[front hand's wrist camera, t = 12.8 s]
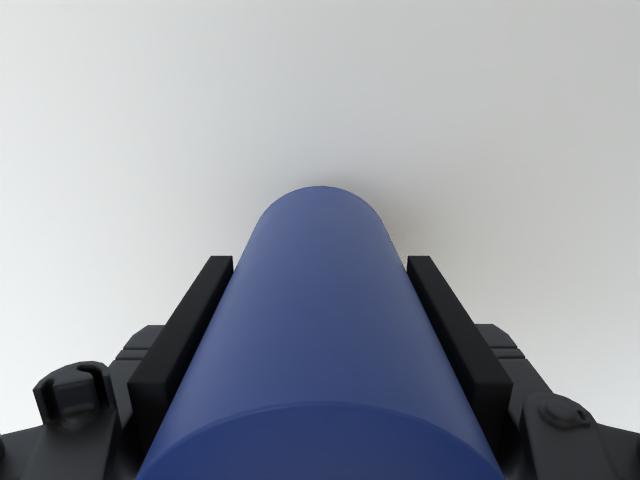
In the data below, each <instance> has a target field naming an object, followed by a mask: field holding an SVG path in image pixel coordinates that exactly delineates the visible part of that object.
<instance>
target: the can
mask: <svg viewBox="0 0 640 480" xmlns="http://www.w3.org/2000/svg"><path fill="white" fill-rule="evenodd" d="M135 480H506V479H505V477H504V475H503V473H502V471H501V469H500V467H499V465H498V463H497V461H496V459H495V456H494V454H493V452H492V450H491V448H490V446H489V444H488V442H487V440H486V438H485V436H484V433H483V431H482V429H481V427H480V425H479V423H478V421H477V419H476V417H475V415H474V413H473V410H472V408H471V406H470V404H469V402H468V400H467V398H466V396H465V394H464V392H463V390H462V387H461V385H460V383H459V381H458V379H457V377H456V375H455V373H454V371H453V369H452V367H451V364H450V362H449V360H448V358H447V356H446V354H445V352H444V350H443V348H442V346H441V344H440V341H439V339H438V337H437V335H436V333H435V331H434V329H433V327H432V325H431V323H430V321H429V318H428V316H427V314H426V312H425V310H424V308H423V306H422V304H421V302H420V300H419V298H418V295H417V293H416V291H415V289H414V287H413V285H412V283H411V281H410V279H409V277H408V275H407V272H406V270H405V268H404V266H403V264H402V262H401V260H400V258H399V256H398V254H397V252H396V249H395V247H394V245H393V243H392V241H391V239H390V237H389V235H388V233H387V231H386V229H385V226H384V224H383V223H382V221H381V219H380V217H379V216H378V215H377V213H376V212H375V211H374V209H373V208H372V207H371V206H370V205H368V204H367V203H366V202H365V201H364V200H362V199H361V198H359V197H358V196H356V195H354V194H352V193H350V192H347V191H345V190H342V189H338V188H334V187H326V186H313V187H306V188H302V189H298V190H295V191H293V192H290V193H288V194H286V195H284V196H283V197H281V198H279V199H278V200H276V201H275V202H274V203H273V204H271V205H270V207H269V208H268V209H267V210H266V211H265V212H264V213H263V215H262V216H261V217H260V219H259V221H258V223H257V225H256V227H255V229H254V231H253V233H252V235H251V237H250V239H249V241H248V243H247V246H246V248H245V250H244V252H243V254H242V256H241V258H240V260H239V262H238V264H237V266H236V269H235V271H234V273H233V275H232V277H231V279H230V281H229V283H228V285H227V287H226V290H225V292H224V294H223V296H222V298H221V300H220V302H219V304H218V306H217V308H216V311H215V313H214V315H213V317H212V319H211V321H210V323H209V325H208V327H207V329H206V332H205V334H204V336H203V338H202V340H201V342H200V344H199V346H198V348H197V350H196V352H195V355H194V357H193V359H192V361H191V363H190V365H189V367H188V369H187V371H186V373H185V376H184V378H183V380H182V382H181V384H180V386H179V388H178V390H177V392H176V394H175V397H174V399H173V401H172V403H171V405H170V407H169V409H168V411H167V413H166V415H165V418H164V420H163V422H162V424H161V426H160V428H159V430H158V432H157V434H156V436H155V438H154V441H153V443H152V445H151V447H150V449H149V451H148V453H147V455H146V457H145V459H144V462H143V464H142V466H141V468H140V470H139V472H138V474H137V476H136V478H135Z"/></svg>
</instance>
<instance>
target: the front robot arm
mask: <svg viewBox="0 0 640 480" xmlns="http://www.w3.org/2000/svg"><path fill="white" fill-rule="evenodd" d="M233 273H234V270H233V258H232V256H211V257H210V258H209V260H208V261H207V263H206V264H205V266H204V267H203V269H202V270H201V272H200V273H199V275H198V276H197V278H196V279H195V281H194V282H193V284H192V285H191V287H190V288H189V290H188V291H187V293H186V294H185V296H184V297H183V299H182V300H181V302H180V303H179V305H178V306H177V308H176V309H175V311H174V312H173V314H172V315H171V317H170V319H169V320H168V322H167V323H166V325H147V326H146V327H144V328H143V329H141V330H140V331H139V332H137V333H136V334H134V335H133V336H132V337H131V338H130V340H129V341H128V342H127V343H126V345H125V346H124V347H123V350H121V351H120V353H119V354H118V355H117V357H116V359H115V360H113V362H112V363H111V364H110V366H109V367H107V366H106V365H104V364H103V363H100V362H95V361H85V362H77V363H74V364H70V365H66V366H64V367H62V368H60V369H57V370H55V371H53V372H51V373H50V374H48V375H47V376H46V377H44V378H43V379H42V380H40V381H39V382H38V384H37V385H36V386H35V387H34V389H33V393H34V396H35V399H36V402H37V406H38V409H39V412H40V415H41V418H42V421H43V425H41V426H37V427H34V428H29V429H25V430H21V431H17V432H12V433H8V434H4V435H1V434H0V480H135V478H136V476H137V474H138V472H139V470H140V468H141V466H142V464H143V462H144V459H145V457H146V455H147V453H148V451H149V449H150V447H151V445H152V443H153V441H154V438H155V436H156V434H157V432H158V430H159V428H160V426H161V424H162V422H163V420H164V418H165V415H166V413H167V411H168V409H169V407H170V405H171V403H172V401H173V399H174V397H175V394H176V392H177V390H178V388H179V386H180V384H181V382H182V380H183V378H184V376H185V373H186V371H187V369H188V367H189V365H190V363H191V361H192V359H193V357H194V355H195V352H196V350H197V348H198V346H199V344H200V342H201V340H202V338H203V336H204V334H205V332H206V329H207V327H208V325H209V323H210V321H211V319H212V317H213V315H214V313H215V311H216V308H217V306H218V304H219V302H220V300H221V298H222V296H223V294H224V292H225V290H226V287H227V285H228V283H229V281H230V279H231V277H232V275H233ZM407 275H408V277H409V279H410V281H411V283H412V285H413V287H414V289H415V291H416V293H417V295H418V298H419V300H420V302H421V304H422V306H423V308H424V310H425V312H426V314H427V316H428V318H429V321H430V323H431V325H432V327H433V329H434V331H435V333H436V335H437V337H438V339H439V341H440V344H441V346H442V348H443V350H444V352H445V354H446V356H447V358H448V360H449V362H450V364H451V367H452V369H453V371H454V373H455V375H456V377H457V379H458V381H459V383H460V385H461V387H462V390H463V392H464V394H465V396H466V398H467V400H468V402H469V404H470V406H471V408H472V410H473V413H474V415H475V417H476V419H477V421H478V423H479V425H480V427H481V429H482V431H483V433H484V436H485V438H486V440H487V442H488V444H489V446H490V448H491V450H492V452H493V454H494V456H495V459H496V461H497V463H498V465H499V467H500V469H501V471H502V473H503V475H504V477H505V479H506V480H640V433H635V432H631V431H627V430H622V429H618V428H614V427H609V426H605V425H602V424H599V423H597V422H596V421H595V420H594V418H593V417H592V415H591V414H590V413H589V412H588V411H587V410H586V409H585V408H583V407H582V406H581V405H580V404H578V403H576V402H574V401H572V400H570V399H569V398H567V397H564V396H561V395H557V394H554V393H553V392H552V391H551V389H550V388H549V387H548V385H547V384H546V383H545V382H544V380H543V379H542V378H541V376H540V375H539V374H538V373H537V371H536V370H535V369H534V367H533V366H532V365H531V363H530V362H529V361H528V360H527V359H525V356H524V354H523V353H522V352H521V351H520V349H517V345H516V344H515V343H514V341H513V340H512V339H511V338H510V336H509V335H508V334H507V333H505V332H504V331H502V330H501V329H499V328H498V327H496V326H495V325H494V324H474V323H473V321H472V320H471V318H470V317H469V315H468V314H467V312H466V311H465V309H464V308H463V306H462V305H461V303H460V301H459V300H458V298H457V297H456V295H455V294H454V292H453V291H452V289H451V288H450V286H449V285H448V283H447V282H446V280H445V279H444V277H443V276H442V274H441V273H440V271H439V270H438V268H437V267H436V265H435V264H434V262H433V261H432V259H431V258H430V256H408V261H407Z"/></svg>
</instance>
